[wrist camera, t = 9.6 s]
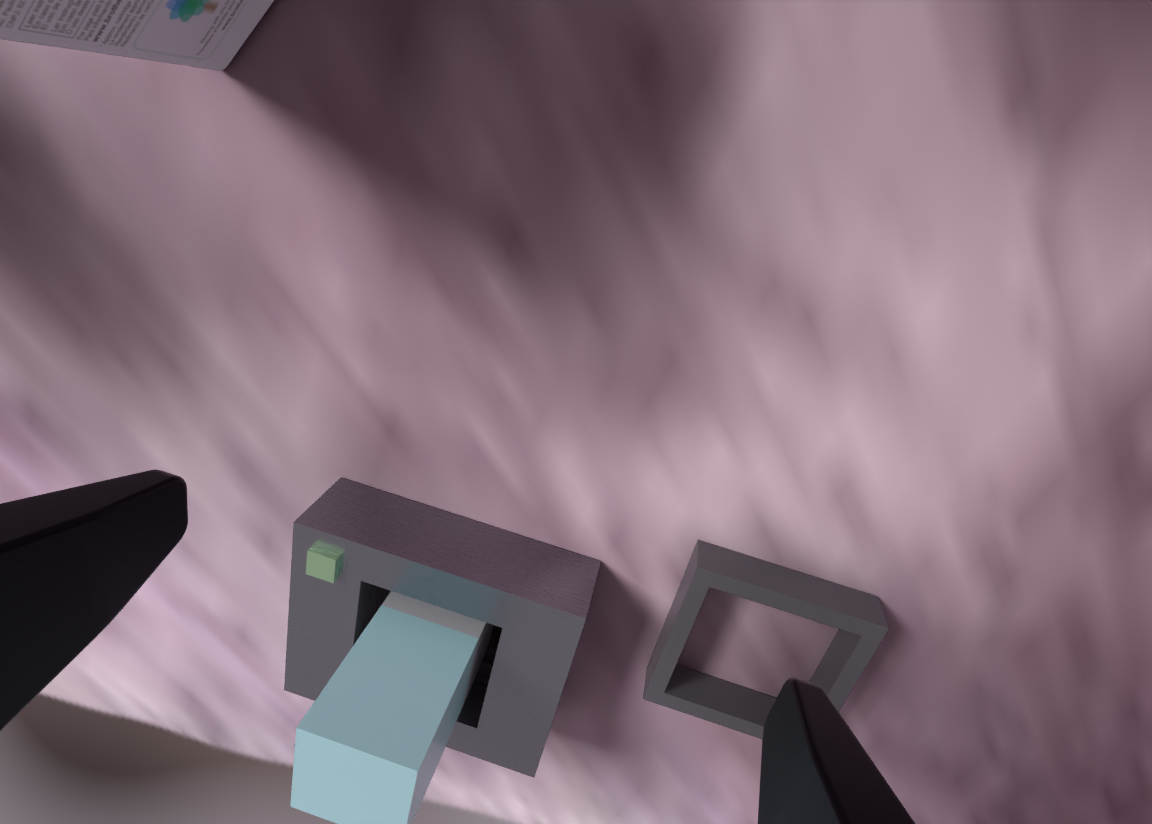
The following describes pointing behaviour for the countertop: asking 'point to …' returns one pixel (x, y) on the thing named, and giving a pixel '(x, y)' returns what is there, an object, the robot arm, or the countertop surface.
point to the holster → (776, 589)
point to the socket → (448, 580)
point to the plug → (387, 714)
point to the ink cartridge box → (137, 27)
